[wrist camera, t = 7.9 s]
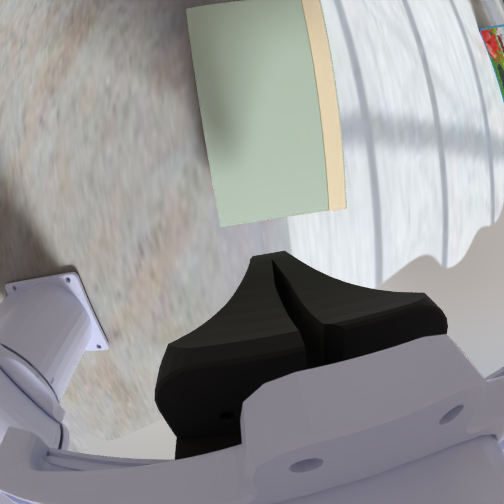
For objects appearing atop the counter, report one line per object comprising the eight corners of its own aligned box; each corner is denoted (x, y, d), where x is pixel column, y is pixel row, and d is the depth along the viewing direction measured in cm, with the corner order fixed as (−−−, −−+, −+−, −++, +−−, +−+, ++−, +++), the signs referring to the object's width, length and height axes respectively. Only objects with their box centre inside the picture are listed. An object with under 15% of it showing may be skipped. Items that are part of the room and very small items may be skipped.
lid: (220, 223, 17) (220, 227, 16) (186, 12, 12) (185, 8, 11) (342, 205, 17) (347, 208, 16) (316, 2, 12) (320, -2, 11)
